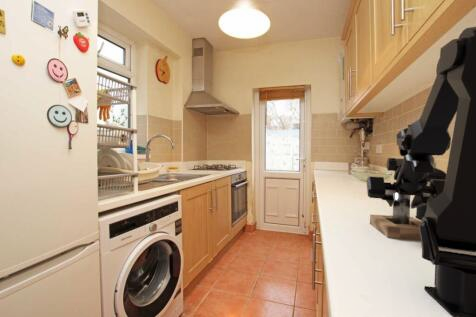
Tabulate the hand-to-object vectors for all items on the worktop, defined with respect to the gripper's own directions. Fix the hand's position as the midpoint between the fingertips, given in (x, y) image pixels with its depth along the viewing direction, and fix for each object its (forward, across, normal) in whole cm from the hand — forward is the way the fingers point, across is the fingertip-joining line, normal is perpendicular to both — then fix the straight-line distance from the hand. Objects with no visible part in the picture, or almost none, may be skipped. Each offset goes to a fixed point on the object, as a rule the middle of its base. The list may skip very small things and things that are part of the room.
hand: (400, 206), depth 67 cm
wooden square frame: (+5, 0, +6) cm, 7 cm away
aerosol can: (+19, -13, -8) cm, 24 cm away
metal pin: (+5, 0, +6) cm, 7 cm away
